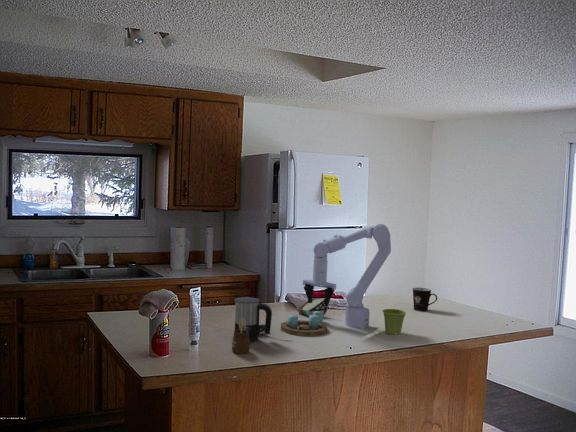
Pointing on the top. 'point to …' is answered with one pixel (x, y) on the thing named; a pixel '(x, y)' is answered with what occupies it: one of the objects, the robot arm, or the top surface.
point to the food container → (313, 307)
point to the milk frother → (252, 316)
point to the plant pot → (393, 320)
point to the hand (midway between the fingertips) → (318, 304)
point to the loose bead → (319, 315)
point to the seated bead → (313, 322)
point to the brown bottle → (241, 340)
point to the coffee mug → (422, 298)
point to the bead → (292, 322)
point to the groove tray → (302, 332)
